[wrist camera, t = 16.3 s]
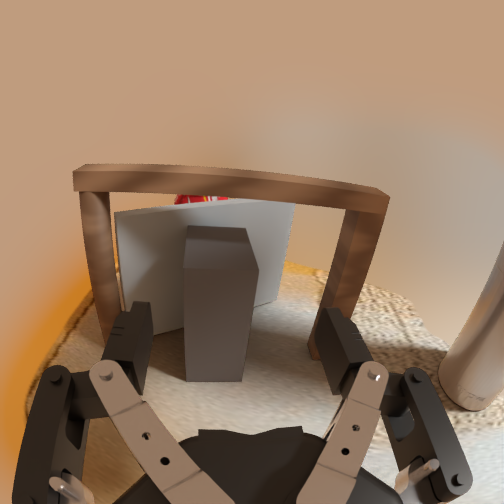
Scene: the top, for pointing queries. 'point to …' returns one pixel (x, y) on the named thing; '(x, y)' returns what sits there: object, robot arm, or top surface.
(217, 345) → the block
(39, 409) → the robot arm
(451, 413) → the top surface
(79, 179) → the door frame
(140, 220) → the door
